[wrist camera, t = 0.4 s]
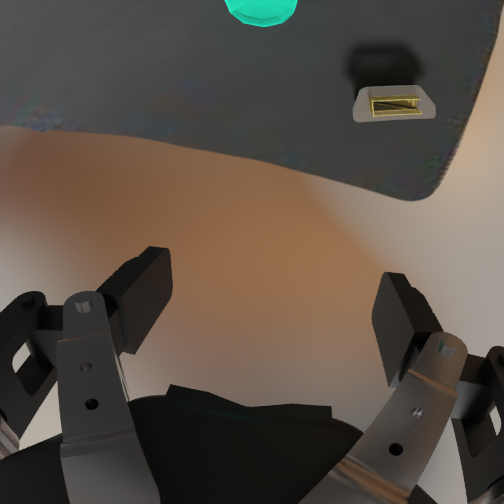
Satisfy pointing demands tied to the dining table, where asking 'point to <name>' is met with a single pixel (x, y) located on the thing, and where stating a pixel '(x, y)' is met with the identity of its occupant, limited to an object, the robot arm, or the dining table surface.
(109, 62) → the dining table surface
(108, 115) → the dining table surface
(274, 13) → the candle
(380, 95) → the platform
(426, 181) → the dining table surface
